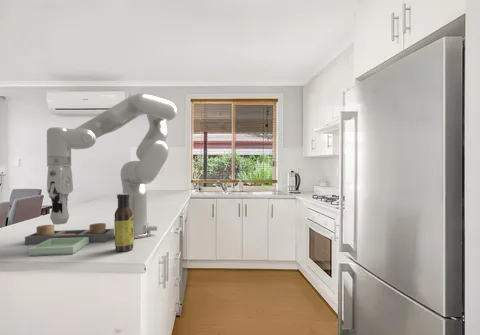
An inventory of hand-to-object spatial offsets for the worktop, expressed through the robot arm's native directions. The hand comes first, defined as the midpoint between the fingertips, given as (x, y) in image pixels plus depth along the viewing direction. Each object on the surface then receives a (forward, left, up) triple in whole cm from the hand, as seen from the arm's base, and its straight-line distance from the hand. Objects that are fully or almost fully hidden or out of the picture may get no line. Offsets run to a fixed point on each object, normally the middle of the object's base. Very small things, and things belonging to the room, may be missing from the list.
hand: (59, 213), depth 110 cm
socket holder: (+2, -14, -13) cm, 19 cm away
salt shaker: (0, 0, -4) cm, 4 cm away
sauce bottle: (-23, +4, -13) cm, 27 cm away
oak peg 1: (+12, -14, -13) cm, 23 cm away
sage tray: (0, 0, -13) cm, 13 cm away
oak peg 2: (-8, -14, -13) cm, 21 cm away
